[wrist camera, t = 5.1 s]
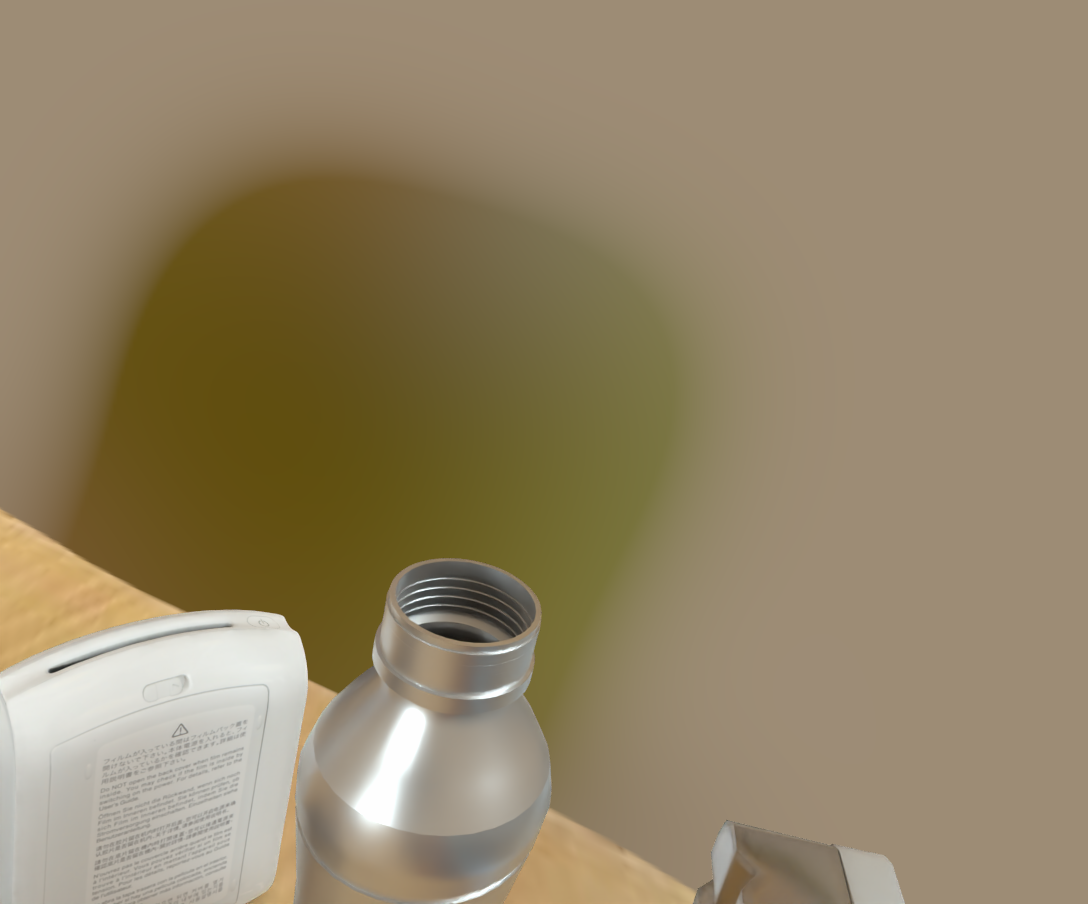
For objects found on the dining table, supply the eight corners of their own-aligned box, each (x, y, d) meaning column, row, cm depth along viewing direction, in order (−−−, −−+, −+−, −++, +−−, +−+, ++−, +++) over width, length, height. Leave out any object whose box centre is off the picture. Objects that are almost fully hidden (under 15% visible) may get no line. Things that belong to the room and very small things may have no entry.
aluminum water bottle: (189, 1114, 31) (262, 565, 23) (366, 994, 36) (478, 506, 28) (309, 1306, 27) (447, 735, 19) (488, 1142, 32) (658, 632, 24)
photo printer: (243, 818, 41) (279, 565, 36) (291, 894, 39) (337, 632, 34) (-39, 920, 35) (-43, 627, 30) (-5, 1021, 32) (-4, 718, 27)
